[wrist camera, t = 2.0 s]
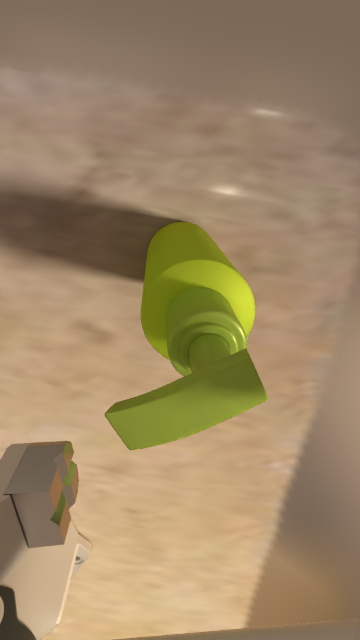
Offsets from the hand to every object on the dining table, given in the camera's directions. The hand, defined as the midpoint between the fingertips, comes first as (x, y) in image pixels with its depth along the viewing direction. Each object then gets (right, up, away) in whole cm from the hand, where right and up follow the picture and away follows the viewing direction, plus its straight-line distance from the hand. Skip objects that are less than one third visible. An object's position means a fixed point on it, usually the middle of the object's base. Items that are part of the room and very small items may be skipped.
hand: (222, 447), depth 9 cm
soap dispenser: (-2, +9, +20) cm, 22 cm away
